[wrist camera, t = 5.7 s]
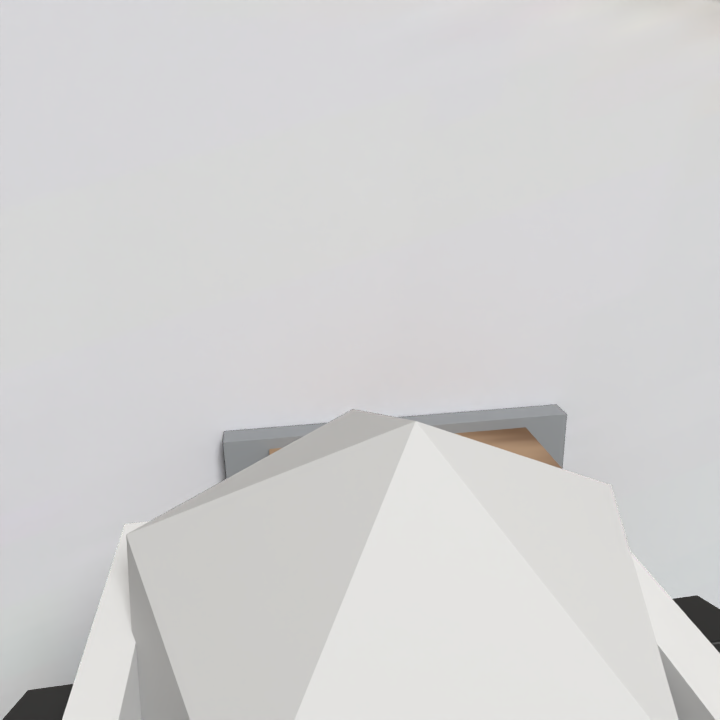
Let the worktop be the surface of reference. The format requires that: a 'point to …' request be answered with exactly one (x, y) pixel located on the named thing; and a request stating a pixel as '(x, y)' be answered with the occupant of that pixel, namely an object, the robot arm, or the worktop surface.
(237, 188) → the worktop surface
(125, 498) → the worktop surface
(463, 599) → the die
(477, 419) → the base plate
